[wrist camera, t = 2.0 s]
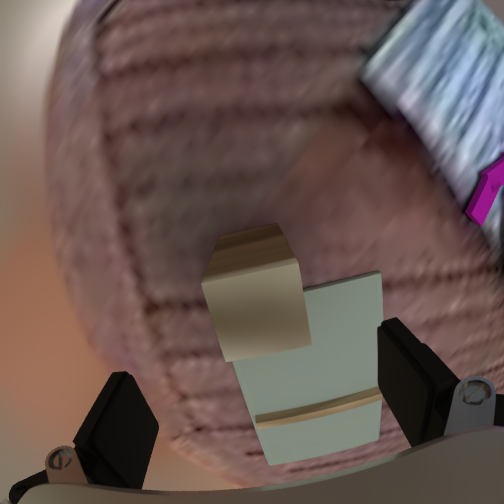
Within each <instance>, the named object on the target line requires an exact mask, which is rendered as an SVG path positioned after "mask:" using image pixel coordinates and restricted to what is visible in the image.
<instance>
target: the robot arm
mask: <svg viewBox="0 0 504 504" xmlns="http://www.w3.org/2000/svg"><path fill="white" fill-rule="evenodd" d="M377 350H378V380H377V381H378V387H379V389H380V391H381V393H382V395H383V397H384V398H385V400H386V402H387V404H388V405H389V407H390V409H391V411H392V413H393V414H394V416H395V418H396V420H397V421H398V423H399V425H400V427H401V429H402V431H403V432H404V434H405V436H406V438H407V440H408V442H409V443H410V445H411V447H412V448H409V449H407V450H404V451H402V452H399V453H396V454H393V455H390V456H388V457H385V458H382V459H379V460H376V461H372V462H369V463H366V464H363V465H359V466H356V467H353V468H349V469H346V470H342V471H338V472H334V473H330V474H326V475H322V476H317V477H313V478H308V479H303V480H298V481H293V482H287V483H281V484H275V485H268V486H260V487H252V488H242V489H231V490H214V491H157V490H142V486H143V482H144V479H145V475H146V472H147V468H148V465H149V461H150V458H151V454H152V451H153V447H154V444H155V441H156V437H157V434H158V430H159V425H158V422H157V420H156V418H155V416H154V415H153V413H152V411H151V409H150V407H149V406H148V404H147V402H146V400H145V398H144V396H143V395H142V393H141V391H140V389H139V387H138V385H137V383H136V381H135V379H134V377H133V376H132V375H129V373H128V372H126V371H123V372H113V373H112V374H111V376H110V377H109V379H108V381H107V382H106V384H105V386H104V387H103V389H102V391H101V392H100V394H99V396H98V397H97V399H96V401H95V403H94V404H93V406H92V408H91V410H90V411H89V413H88V415H87V416H86V418H85V420H84V422H83V424H82V425H81V427H80V429H79V431H78V432H77V434H76V436H75V438H74V440H73V443H74V444H75V445H76V446H75V448H74V449H73V448H72V447H70V446H60V447H57V448H55V449H53V450H52V451H51V452H50V453H49V454H48V456H47V457H46V460H45V467H46V469H45V470H43V471H41V472H39V473H37V474H35V475H32V476H30V477H28V478H26V479H24V480H22V481H19V482H18V483H16V484H14V485H13V486H12V488H11V490H10V492H9V501H8V500H7V499H4V500H3V501H2V502H1V503H0V504H504V395H503V394H496V389H495V387H494V385H493V383H492V382H490V381H489V380H488V379H485V378H483V377H469V378H466V379H464V380H462V381H460V380H459V379H458V378H457V377H456V375H455V374H454V373H453V372H452V371H451V370H450V369H449V368H448V367H447V366H446V365H445V364H444V362H443V361H442V360H441V359H440V358H439V357H438V356H437V355H436V354H435V353H434V352H433V351H432V350H431V349H430V348H429V347H428V346H427V345H426V344H425V343H421V342H420V341H419V340H418V339H417V338H416V337H415V336H414V335H413V334H412V332H411V331H410V330H409V329H408V328H407V327H406V326H405V325H404V324H403V323H402V322H401V321H400V320H399V319H398V318H397V317H394V318H391V319H388V320H385V321H382V322H381V326H378V327H377Z"/></svg>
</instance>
